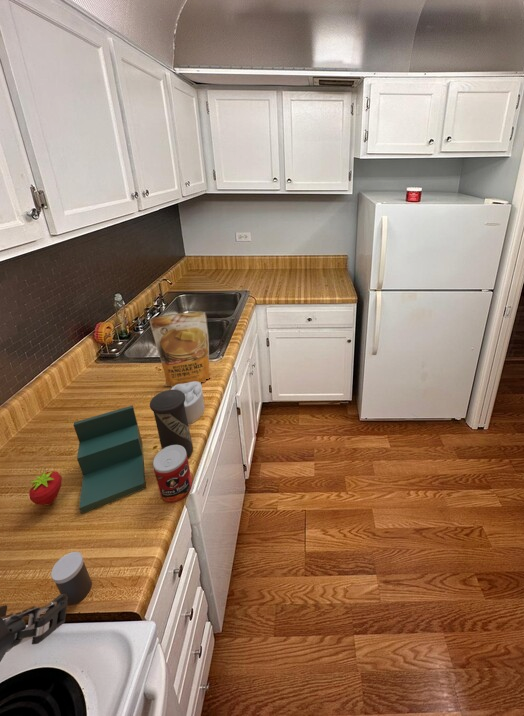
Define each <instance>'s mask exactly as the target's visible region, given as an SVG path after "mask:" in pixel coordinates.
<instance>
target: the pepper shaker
mask: <svg viewBox="0 0 524 716" xmlns="http://www.w3.org/2000/svg"><path fill="white" fill-rule="evenodd" d="M50 577H51V579H52V581H53V582H54V583H55V586H56V588H57V589H58V592H59V594H60V595H61V594H67V596H68V600H67V606H73V605H76V604H78V603H80V602H81V601H83V600H84V598H86V597H87V596H88V594H89V593H90V591H91V589H92V584H93V581H92V579H91V576H90V573H89V571H88V568H87V566H86V565H85V562H84V557H83V554H82V553H81V552H79V551H71V552H68V553H66V554H65V555H63V556H62V557H60V558H59V559H58V560H57V561H56V562H55V563H54V565H53V567H52V569H51V572H50ZM67 596H66V597H67Z"/></svg>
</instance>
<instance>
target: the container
mask: <svg viewBox="0 0 524 716" xmlns="http://www.w3.org/2000/svg"><path fill="white" fill-rule="evenodd" d="M184 402H185V394H184V393H183V392H182V391H180V390H171V389H166V390H163V391H160V392H158V393H156V394H155V395H154V396H153V397H151V399H150V402H149V409H150V410H151V411H152V412H153V416H154V420H155V425H156V429H157V434H158V438H159V443H160V444H159V445H160V448H161V450H162V449H164V448H165V447H168V446H171V445H180V446H183V447H184V448H185V450H186V453H187V458H188V459H189V458H190V457H191V456H192V454H193V452H194V446H193V445H194V444H193V440H192V436H191V435H192V434H191V431H190V424H189V425H188V420H187V416H186V411H185V406H184Z"/></svg>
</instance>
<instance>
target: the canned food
mask: <svg viewBox="0 0 524 716" xmlns="http://www.w3.org/2000/svg"><path fill="white" fill-rule="evenodd" d="M152 464H153V465H152V467H153V472H154V475H155V479H156V483H157V487H158V492H159V495H160V497H161V499H162V500H163V501H165V502H166V503H176V502H179V501H180V500H182V499H184V498H185V497H186V496H187V495H188V494H189V492H190V490H191V488H192V483H193V479H192V475H191V469H190V464H189V458H187V453H186V450H185V448H184V447H183V446H180V445H171V446H168V447H165V448H164V449H161V450H159V451H158V452H157V453H156V455H154V458H153V460H152Z"/></svg>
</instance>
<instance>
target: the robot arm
mask: <svg viewBox="0 0 524 716" xmlns="http://www.w3.org/2000/svg"><path fill="white" fill-rule="evenodd" d="M66 596H67V594H60V595H58V596H57V597H55V598H54V599H53V600H51V601H50V602H49V603H47V604H45V605H42V606H37V605H33V606H30V607H28V608H26V609H23V610H21V611H19V612H16V613H9V614H7V611H8V605H6V604H5V605H1V606H0V663H1V662H2V661H3V659H4V657H5V655H6V654H7V653H8V652H10V651H11V650H12V649H13V648H14V647H17V646H18V645H20V644H22V643H24V642H27V641H29V640H31V639H32V640H31V645H38V644H39V643H41V642H43V641H44V640H45V639H47V637H49V636H50V635H51V634H52V633H54V632H55V631H56V630H57V629H59V627H61V626H62V625H63V624H64V623H66V617H67V609H68V605H67V600H68V596H67V597H66ZM27 616H28V623H26V621H25V619H24V618H26V617H27Z"/></svg>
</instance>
